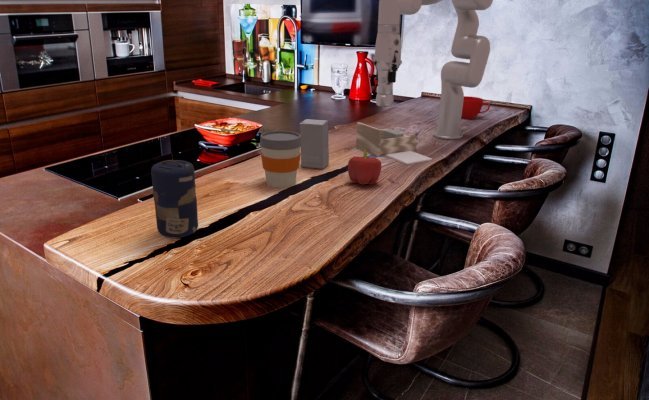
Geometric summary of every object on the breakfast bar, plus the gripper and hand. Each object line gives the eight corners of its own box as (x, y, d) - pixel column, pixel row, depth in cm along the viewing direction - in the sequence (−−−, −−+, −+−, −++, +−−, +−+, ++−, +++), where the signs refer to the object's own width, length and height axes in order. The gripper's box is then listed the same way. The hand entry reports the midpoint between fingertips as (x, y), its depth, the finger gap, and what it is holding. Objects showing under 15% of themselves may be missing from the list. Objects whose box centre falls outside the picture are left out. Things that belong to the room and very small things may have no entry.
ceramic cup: (484, 123, 242) (486, 102, 239) (450, 118, 251) (453, 98, 247) (491, 118, 253) (494, 99, 249) (459, 114, 261) (461, 95, 257)
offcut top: (390, 135, 197) (391, 129, 196) (403, 139, 191) (403, 133, 190) (383, 136, 195) (383, 130, 194) (395, 140, 189) (395, 134, 188)
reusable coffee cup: (285, 192, 145) (285, 143, 139) (252, 184, 151) (250, 136, 145) (309, 181, 155) (309, 134, 149) (277, 173, 161) (276, 128, 155)
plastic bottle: (392, 109, 182) (396, 53, 174) (374, 108, 183) (377, 52, 176) (393, 105, 188) (397, 51, 180) (376, 104, 189) (378, 50, 182)
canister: (181, 220, 124) (175, 152, 118) (207, 230, 119) (202, 159, 113) (149, 233, 117) (140, 161, 110) (175, 244, 112) (168, 169, 105)
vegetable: (347, 176, 160) (348, 146, 157) (378, 177, 160) (380, 147, 156) (347, 188, 150) (348, 156, 146) (381, 189, 150) (383, 157, 146)
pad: (410, 152, 189) (410, 150, 189) (432, 160, 180) (432, 158, 180) (385, 156, 183) (385, 154, 183) (407, 164, 174) (407, 163, 174)
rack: (393, 142, 203) (395, 118, 199) (416, 150, 192) (418, 125, 188) (355, 147, 194) (357, 122, 190) (377, 156, 183) (379, 130, 179)
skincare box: (328, 164, 172) (330, 119, 166) (322, 170, 165) (323, 124, 160) (306, 161, 174) (306, 117, 168) (298, 167, 168) (299, 121, 162)
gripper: (412, 31, 170) (408, 83, 177) (381, 28, 184) (379, 77, 191) (395, 31, 167) (392, 85, 173) (365, 29, 180) (363, 79, 187)
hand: (385, 80), depth 182 cm, fingers closed on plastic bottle, 6 cm apart
